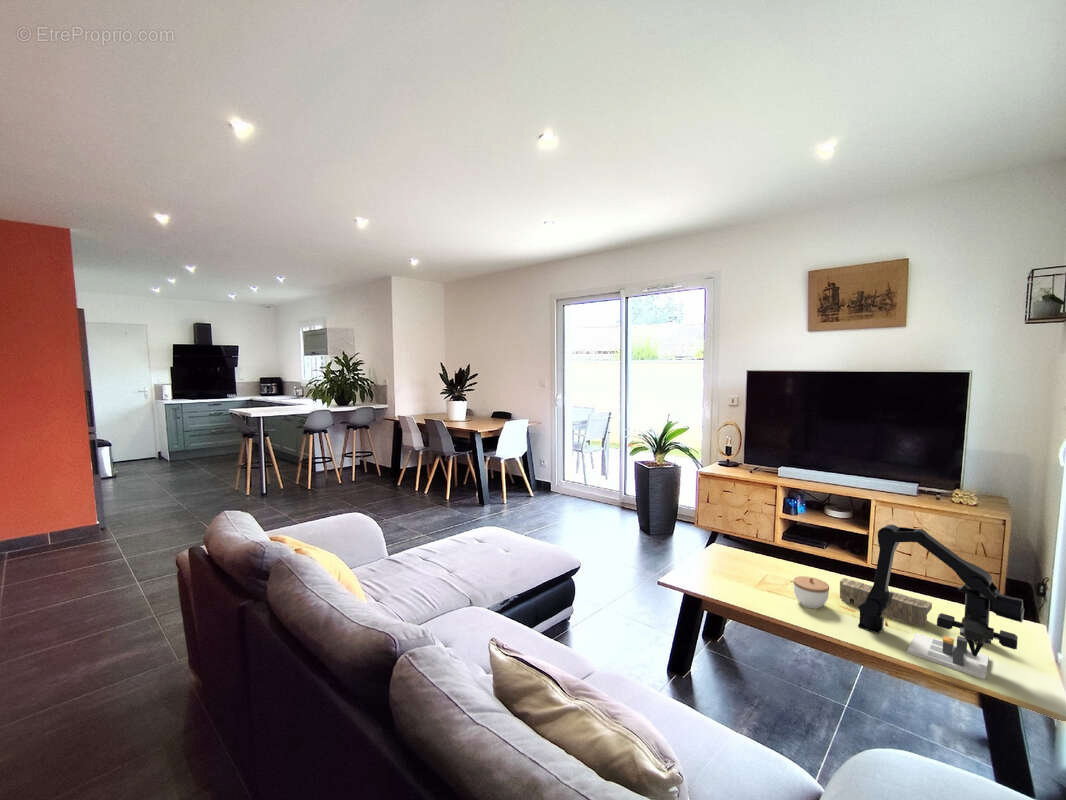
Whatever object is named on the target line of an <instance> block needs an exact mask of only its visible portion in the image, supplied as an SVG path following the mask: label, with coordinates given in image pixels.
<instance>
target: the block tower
mask: <svg viewBox="0 0 1066 800" xmlns="http://www.w3.org/2000/svg"><path fill="white" fill-rule="evenodd" d="M872 587H873V585H870V584H869V585H868V584H866V583H863V582H860V581H857V580H852V579H848V578H846V577H843V578H842V579H841V580H839V599H840V600H841V602H842V603H845V604H851V603H852V602H853V605H854V607H855V606H856V607H858V606H859V605H860V604H861V603H863V602H864V601H865V600H866V599H867V596H868V594H869V592H870V590H871V589H872ZM889 592H891V593H894V594H893V597H892V604H891V605H890V606H889V607H887V608H885V609H884V610H883V611H882V616H886V617H890V618H891V619H892V618H893V619H896V620H898V621H902V622H906V623H908V624H911V625H915V626H917V627H920V628H923V626H924V625H925V624H926V622H927V621H928V614H929V612H930V611H931V610H932V608H933V602H930V601H928V600H925V599H920V598H917V597H912V596H909V595H906V594H903V593H899V592H895V591H892V590H890V591H889Z"/></svg>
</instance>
